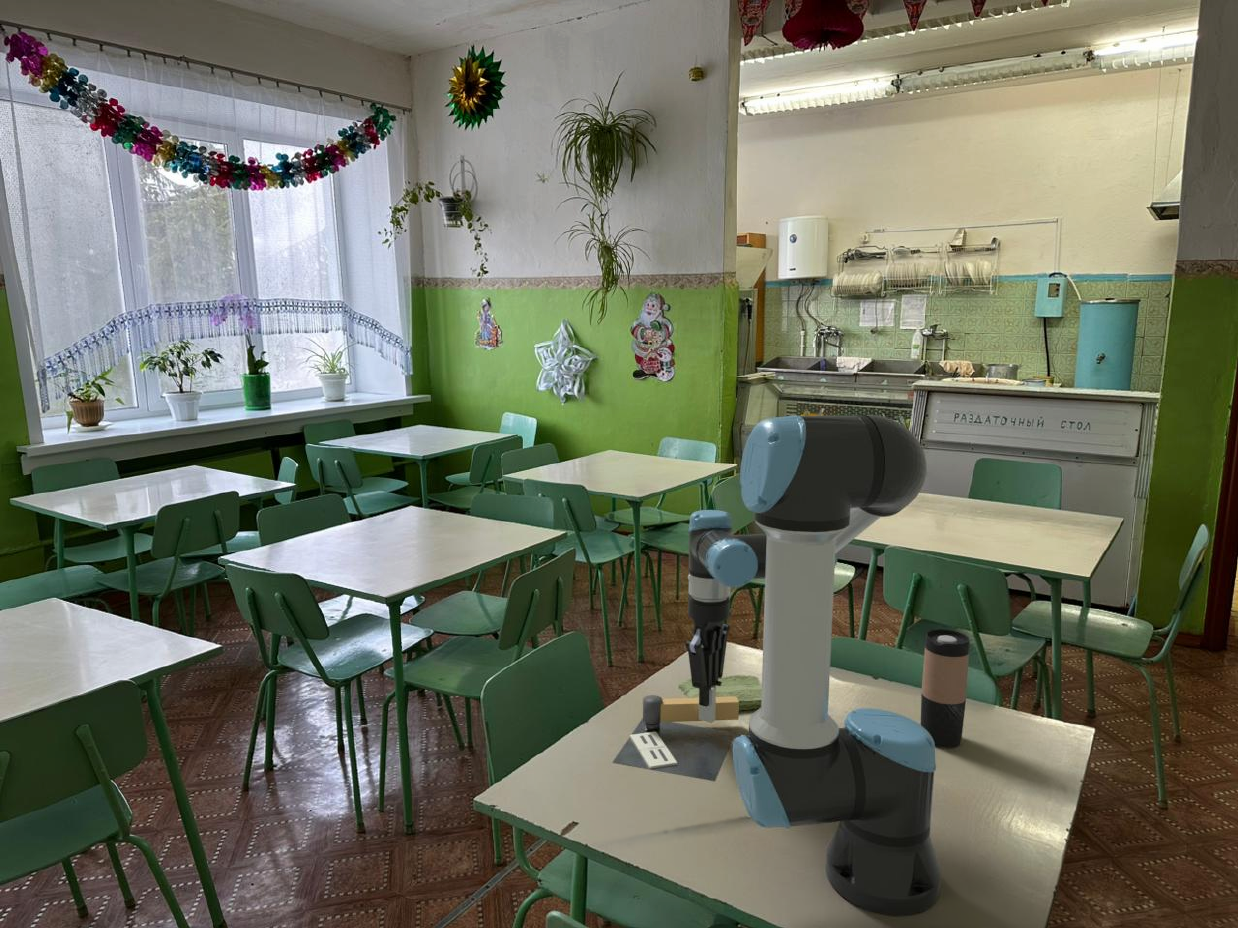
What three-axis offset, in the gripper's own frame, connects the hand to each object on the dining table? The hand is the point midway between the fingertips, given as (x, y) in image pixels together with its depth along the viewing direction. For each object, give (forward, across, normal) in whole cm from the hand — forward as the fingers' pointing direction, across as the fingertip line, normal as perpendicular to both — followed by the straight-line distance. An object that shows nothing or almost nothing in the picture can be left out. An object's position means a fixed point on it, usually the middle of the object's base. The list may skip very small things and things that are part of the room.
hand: (706, 719), depth 154 cm
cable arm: (+1, -1, -4) cm, 4 cm away
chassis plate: (+4, +7, -2) cm, 9 cm away
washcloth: (+4, -18, -5) cm, 19 cm away
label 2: (+3, +12, -3) cm, 13 cm away
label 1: (+3, +9, -7) cm, 12 cm away
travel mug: (+4, -25, +36) cm, 44 cm away
